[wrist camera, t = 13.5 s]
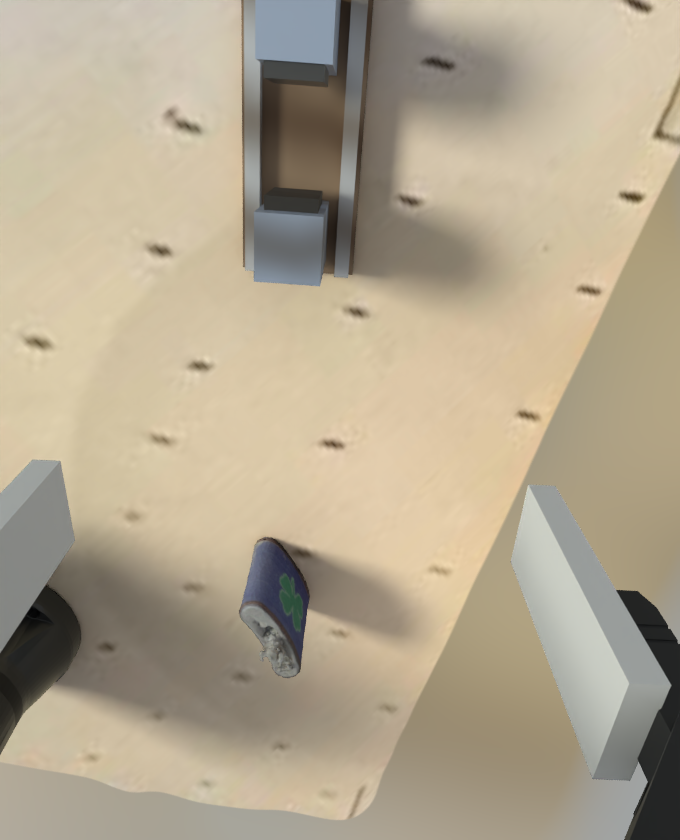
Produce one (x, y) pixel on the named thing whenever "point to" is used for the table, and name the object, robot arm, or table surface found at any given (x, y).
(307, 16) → the blue-grey rectangular block
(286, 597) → the flask
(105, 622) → the table surface
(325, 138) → the rail board
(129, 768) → the table surface
